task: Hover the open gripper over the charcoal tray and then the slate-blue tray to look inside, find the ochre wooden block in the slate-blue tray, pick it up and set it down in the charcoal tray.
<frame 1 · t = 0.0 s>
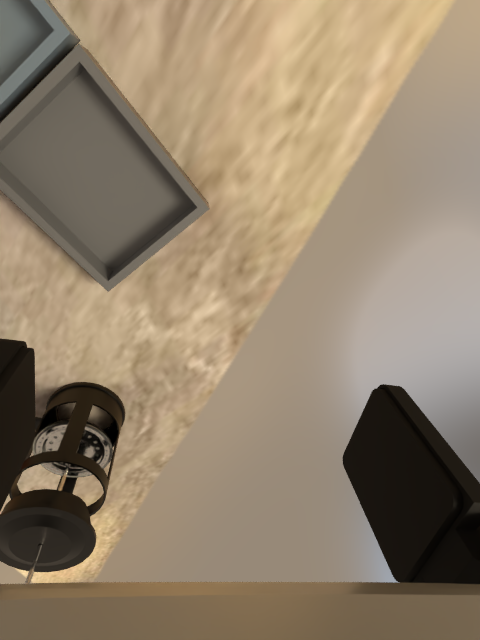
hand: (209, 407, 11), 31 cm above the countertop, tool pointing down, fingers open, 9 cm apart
french press: (82, 410, 48), on the countertop
charcoal tray: (102, 180, 36), on the countertop
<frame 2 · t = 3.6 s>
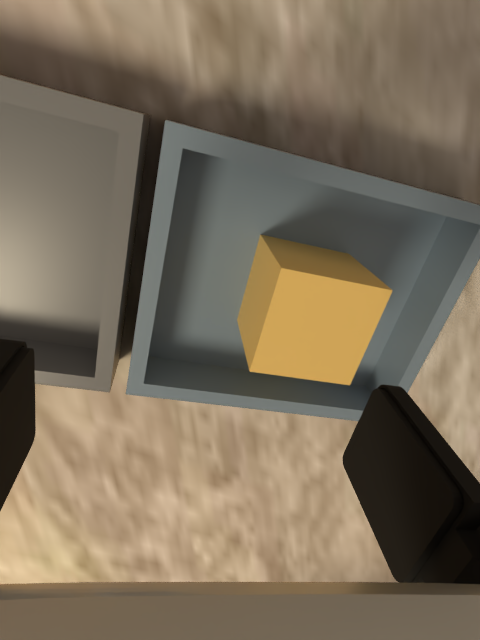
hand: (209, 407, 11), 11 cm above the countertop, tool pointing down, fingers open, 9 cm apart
slate-blue tray: (289, 285, 21), on the countertop
ochre block: (291, 287, 21), resting on slate-blue tray
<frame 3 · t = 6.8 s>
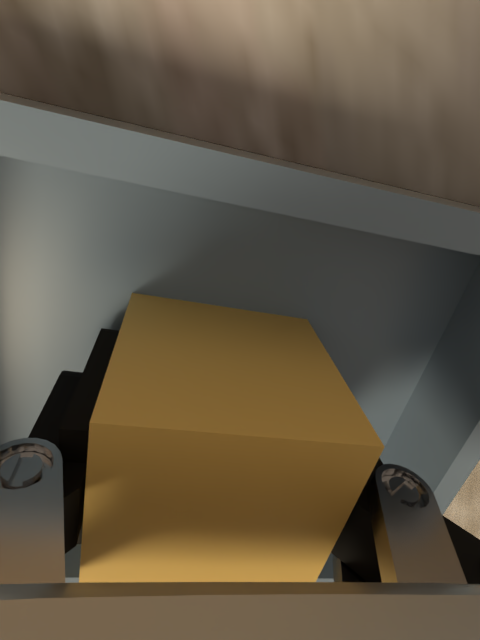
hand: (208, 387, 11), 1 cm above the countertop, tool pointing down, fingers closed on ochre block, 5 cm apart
slate-blue tray: (207, 371, 12), on the countertop
ochre block: (207, 379, 12), resting on slate-blue tray, touching gripper
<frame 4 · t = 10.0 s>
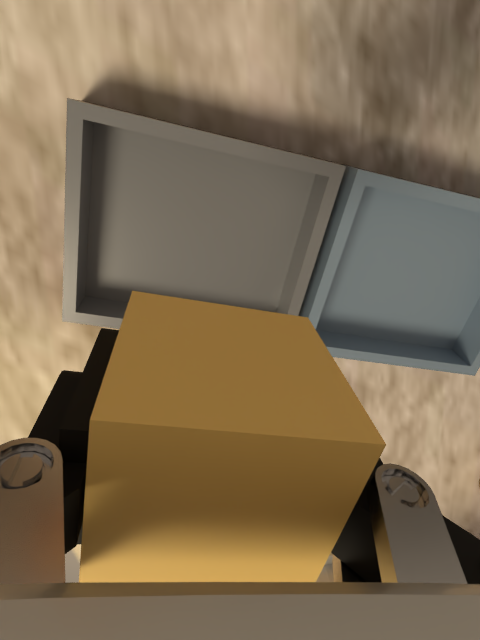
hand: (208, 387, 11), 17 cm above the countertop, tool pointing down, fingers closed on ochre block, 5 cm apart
slate-blue tray: (404, 273, 30), on the countertop
charcoal tray: (196, 234, 27), on the countertop
ochre block: (208, 377, 12), point 17 cm above the countertop, touching gripper
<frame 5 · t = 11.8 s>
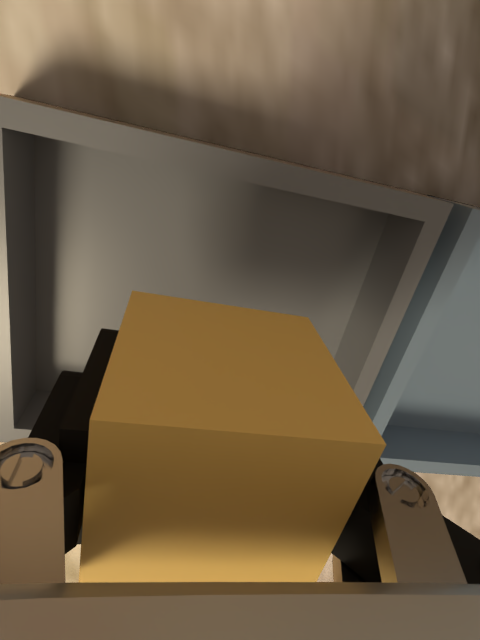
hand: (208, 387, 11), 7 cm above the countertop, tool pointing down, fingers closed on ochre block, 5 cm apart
charcoal tray: (203, 300, 18), on the countertop
ochre block: (208, 377, 12), point 6 cm above the countertop, touching gripper
when the fingers open (2 cm above the countertop, at t = 13.1 s): ochre block drops 2 cm, resting on charcoal tray.
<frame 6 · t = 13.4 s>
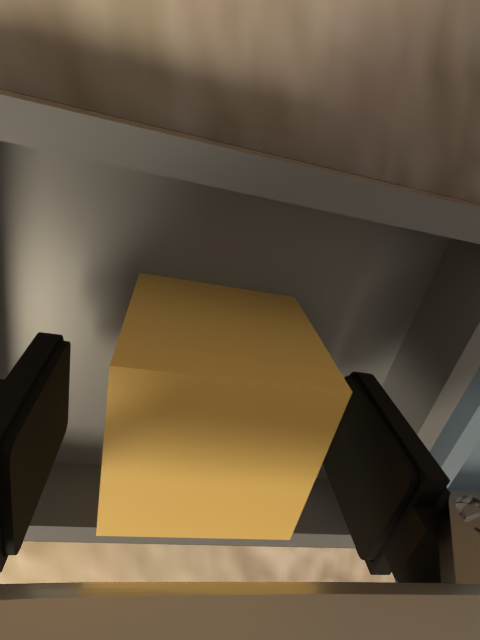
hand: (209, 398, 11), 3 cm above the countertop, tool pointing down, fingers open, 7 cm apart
charcoal tray: (205, 345, 14), on the countertop
ochre block: (206, 352, 13), resting on charcoal tray
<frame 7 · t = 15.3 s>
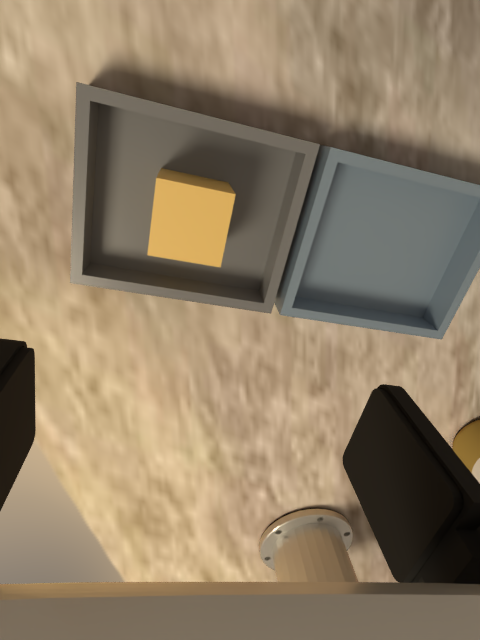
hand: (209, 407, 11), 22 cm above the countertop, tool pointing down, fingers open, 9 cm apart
slate-blue tray: (377, 246, 33), on the countertop
paper tube: (475, 435, 47), on the countertop
charcoal tray: (189, 207, 30), on the countertop
ochre block: (189, 209, 29), resting on charcoal tray
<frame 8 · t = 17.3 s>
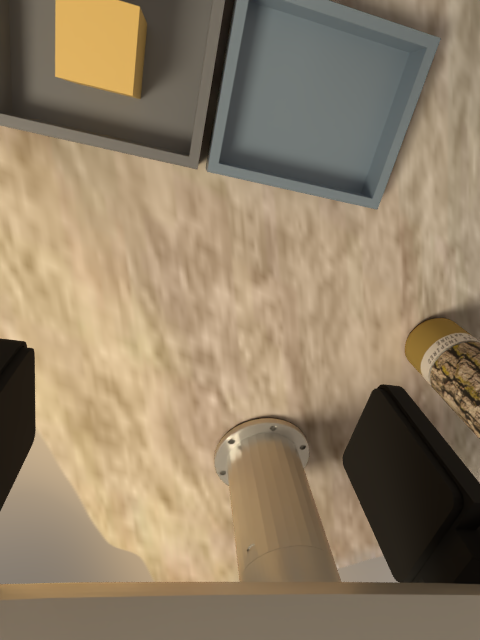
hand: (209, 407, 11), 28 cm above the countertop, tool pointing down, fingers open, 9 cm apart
slate-blue tray: (308, 108, 33), on the countertop
paper tube: (428, 339, 46), on the countertop
charcoal tray: (110, 54, 30), on the countertop
ochre block: (110, 54, 29), resting on charcoal tray
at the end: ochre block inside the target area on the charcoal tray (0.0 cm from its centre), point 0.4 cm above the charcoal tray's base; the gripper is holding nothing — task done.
